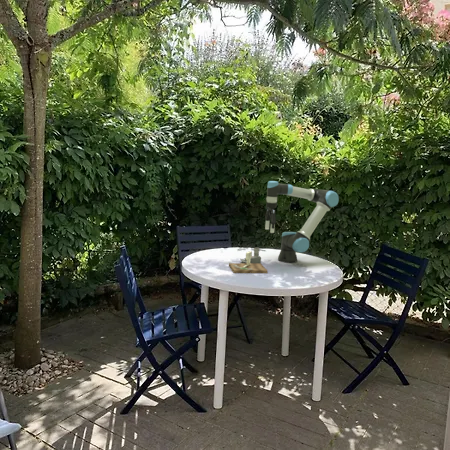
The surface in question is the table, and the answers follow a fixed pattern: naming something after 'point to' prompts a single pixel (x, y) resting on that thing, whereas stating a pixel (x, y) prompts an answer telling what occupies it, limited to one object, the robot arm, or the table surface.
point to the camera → (254, 257)
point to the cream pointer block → (248, 258)
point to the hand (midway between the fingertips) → (269, 231)
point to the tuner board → (247, 268)
